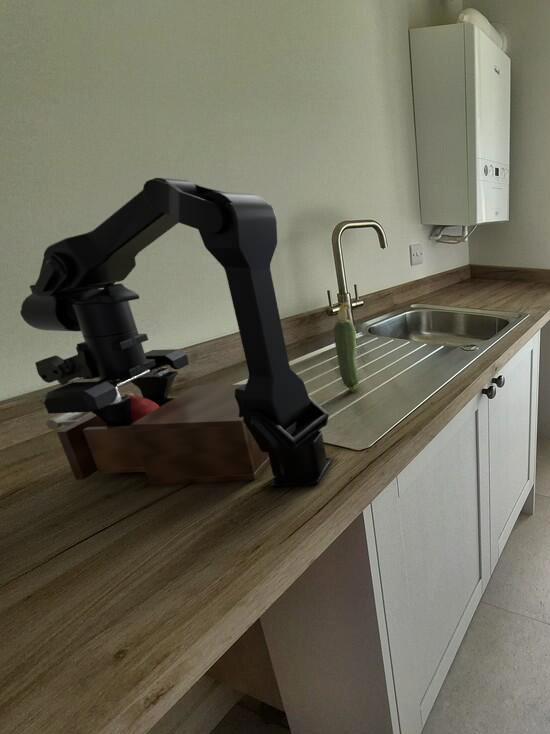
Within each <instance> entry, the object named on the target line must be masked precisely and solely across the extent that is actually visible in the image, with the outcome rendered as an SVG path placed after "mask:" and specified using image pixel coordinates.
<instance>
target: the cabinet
mask: <svg viewBox="0 0 550 734" xmlns="http://www.w3.org/2000/svg"><path fill="white" fill-rule="evenodd" d="M245 384H246V383H240V384H236V383H235V384H212V385H211V384H209V385H208V384H207V385H194V386H192V387H191V388H189V389H187V390H186V391H184V392H182V393H180V394H179V395H177V396H178V397H176V398H174V399H173V400H171V401H169V402H167V403H166V404H164V405H162V406H161V407H159V408H157V409H156V410H154V411H152V412H151V413H149V414H147V415H146V416H144V417H142V418H141V419H139V420H137V421H135V422H134V423H132V424H130V427H131V430H132V433H133V436H134V439H135V442H136V445H137V447H138V450H139V453H140V456H141V459H142V462H143V465H144V468H145V471H146V472H145V474H146V477H147V479H148V483H149V485H169V484H191V483H211V482H213V483H214V482H233V481H252V480H253V481H254V480H256V479H257V478H258V477H259V476H260V474H262V472H263V471H264V470H265V469H266V467H267V466H268V465H269V464H270V459H269V455H268V452H262V451H261V449H260V448H259V446H258V444H257V443H256V441H255V439H254V438H253V436H252V434H251V433H250V431H249V429H248V428H247V427H246V425H245V422H244V419H243V417H241V418H240V417H239V406H238V403H237V401H236V398H235V389H237V388H239V387H241V386H243V385H245ZM287 429H288V428H287Z"/></svg>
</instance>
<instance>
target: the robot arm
mask: <svg viewBox="0 0 550 734" xmlns="http://www.w3.org/2000/svg"><path fill="white" fill-rule="evenodd" d="M277 222H278V221H277V215H276V212H275V209H274V208H273V206H272V204H270V203H268V201H266V200H265V199H264V198H263V197H262V196H259V195H257V194H253V193H240V192H229V191H228V192H227V191H222V190H217V189H214V188H209V187H205V186H202V185H199V184H196V183H193V182H192V181H189V180H187V179H177V178H164V177H154V178H152V179H148V180H146V182H144V184H143V188H142V190H140V191H139V192H138V193H137V194H136V195H134V196H133V197H132V198H130V200H128V201H127V202H125V203H124V204H123V205H122V206H121V207H120V208H119V209H117V210H116V211H115V212H113V213H112V214H111V215H110V216H109V217H108V218H105V220H104V221H102V222H101V223H100V224H99V225H97V226H96V227H95V228H94V229H92V230H90V231H87V232H86V233H82V234H81V233H80V234H78V235H73V236H69V237H66V238H63V239H60V240H59V241H57V242H54V243H51V245H47V247H46V248H45V250H44V251H43V259H42V261H41V267H40V271H39V275H38V278H37V280H36V282H35V283H34V284H30V285H29V288H30V292H31V293H30V294H29V295H28V296H26V298H24V300H23V301H22V303H21V307H20V308H21V310H20V311H19V312H20V316H21V318H22V319H23V321H24V322H25V323H26V324H27V325H29V326H31V327H32V328H34V329H37V330H42V331H53V332H54V331H55V332H56V331H57V332H81V334H82V337H83V340H84V341H83V342H82V341H81V342H79V343H76V347H75V350H76V353H77V354H75V355H73V356H70V357H67V358H62V357H60V356H58V355H52V356H50V357H47V358H43V359H41V360H38V361H35V362H34V364H35V368H36V372H37V375H38V376H39V377H40V378H41V379H42V382H45V383H48V384H50V383H53V382H56V381H57V383H59V385H60V387H57V388H55V389H52V390H50V391H48V392H47V393H46V394H45V395H44V397H43V398H42V401H43V404H44V407H45V409H46V411H47V414H51V415H52V414H63V413H77V412H89V413H91V414H93V413H94V414H95V415H97V416H98V417H99V418H101V419H102V420H103V421H104V422H105V423H106V424H107V425H108V426H130V424H132V421H131V397H130V396H127V397H125V396H121V393H120V391H119V389H120V387H123V386H124V385H127V384H130V383H131V384H133V385H134V386H136V387H137V388H138V389H139V391H140V393H141V395H142V396H141V397H143V398H147V399H149V400H151V401H153V402H155V403H156V404H157V405H158V406H159V407H161V406H162V405H164V404H166V401H167V397H169V395H170V391H171V389H172V386H173V384H174V381H175V379H176V377H177V376H179V372H178V371H177V370H180V369H182V368H185V367H186V366H188V365H190V363H189V362H190V361H189V359H188V355H187V353H186V352H185V351H183V350H181V349H180V348H177V349H176V348H175V349H173V348H171V349H152V350H149V351H146V352H145V350H144V346H143V343H144V342H146V341H149V337H148V334H147V333H139V331H138V328H137V324H136V321H135V318H134V314H133V312H132V308H131V305H130V302H129V301H136V300H139V299H140V294H138V293H136V292H135V291H134V290H132V289H129V288H128V287H126V286H125V285H124V284H123V283H121V282H122V281H124V280H125V279H127V277H128V276H129V275H130V274H131V272H132V271H133V270H134V268H135V267H136V266H137V261H136V257H137V255H138V254H139V253H141V252H142V251H143V250H145V249H146V248H147V247H148V246H150V245H151V244H152V243H154V242H156V240H158V239H159V238H160V237H162V236H164V234H166V233H167V232H168V231H170V230H171V229H172V228H174V227H175V226H176V225H178V224H182V225H184V226H186V227H187V226H188V227H190V228H193V229H195V230H198V232H199V235H200V238H201V241H202V242H203V245H204V247H205V249H206V251H208V252H209V253H210V254H211V256H212V257H213V258H214V259H215V260H216V261H217V263H219V264H220V265H221V266H222V267H223V269H224V272H225V275H226V280H227V285H228V288H229V289H228V290H229V292H230V293H229V294H230V298H231V301H232V306H233V310H234V314H235V318H236V323H237V327H238V331H239V337H240V340H241V344H242V349H243V353H244V358H245V362H246V366H247V370H248V371H247V372H248V378H247V381H246V383H244V384H245V385H243V386H241V387H239V388H237V389H235V398H236V401H237V403H238V406H239V417H240V418H241V417H243V419H244V422H245V425H246V427H247V428H248V429H249V431H250V433H251V434H252V436H253V438H254V439H255V441H256V443H257V444H258V446H259V448H260V449H261V451H262V452H268V455H269V459H270V463H269V464H270V468H271V473H272V476H273V477H274V479H273V481H271V487H272V488H285V487H307V486H317V485H318V484H319V483H320V481H321V480H322V478H323V477H324V474H325V473H326V471H327V469H328V468H329V467H330V464H331V463H332V461H333V460H332V457H327V454H326V449H325V442H324V437H323V431H321V429H322V428H325V427H326V426H328V422H329V416H330V415H329V413H328V412H327V411H326V410H325V409H324V408H323V407H321V406H320V405H319V404H318V403H317V402H316V401H315V400H314V399H312V397H310V395H309V393H308V391H307V388H306V385H305V382H304V380H303V379H302V378H301V377H300V375H298V374H297V373H296V371H294V370H293V369H292V368H291V365H290V363H289V362H290V361H289V357H288V351H287V347H286V342H285V336H284V331H283V326H282V322H281V316H280V311H279V307H278V301H277V296H276V291H275V285H274V281H273V276H272V271H271V270H272V269H271V263H272V260H273V257H274V254H275V251H276V248H277V246H278V226H277V225H278V224H277ZM119 282H120V283H119ZM167 366H169V367H170V368H171V369H173V370H174V371H173V370H172V371H170V370H169V367H167ZM175 370H176V371H175ZM76 379H83V380H94V379H99V380H97V381H73V380H76ZM70 381H72V382H70ZM287 428H288V429H287Z"/></svg>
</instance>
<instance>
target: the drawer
mask: <svg viewBox="0 0 550 734" xmlns="http://www.w3.org/2000/svg"><path fill="white" fill-rule="evenodd" d="M132 394H133V395H136V396H139V394H138V393H135V394H134V393H132ZM178 396H179V395H173V396H169V395H168V397H167V401H166V403H167V402H169V401H171V400H173V399H174V398H176V397H178ZM89 413H90V412H77V413H59V414H58V415H56V416H54V417H52V418H50V419H48V420H46V422H45V425H46V427H47V428H48V429H49V430H54V431H55V430H57V431H56V434H57V437H58V439H59V441H60V444H61V446H62V449H63V451H64V454H65V456H66V459H67V461H68V463H69V466H70V469H71V472H72V473H73V476H74V479H75V480H76V481H85V480H86V479H88V478H90V477H91V476H92V475H94V474H95V473H97V472H98V474H100V475H101V474H120V473H122V474H123V473H141V472H142V473H144V472H145V473H146V471H145V468H144V465H143V462H142V459H141V456H140V453H139V450H138V447H137V445H136V442H135V439H134V436H133V433H132V430H131V427H130V426H108V425H107V424H106V423H105V422H104V421H103V420H102V419H101V418H99V417H98V416H97V415H95V414H94V413H91V414H89ZM87 414H89V415H87ZM85 415H87V416H85ZM84 416H85V417H84ZM81 417H83V418H81ZM80 418H81V419H80ZM64 426H66V427H64ZM61 427H64V428H61ZM60 428H61V429H60ZM58 429H60V430H58Z"/></svg>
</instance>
